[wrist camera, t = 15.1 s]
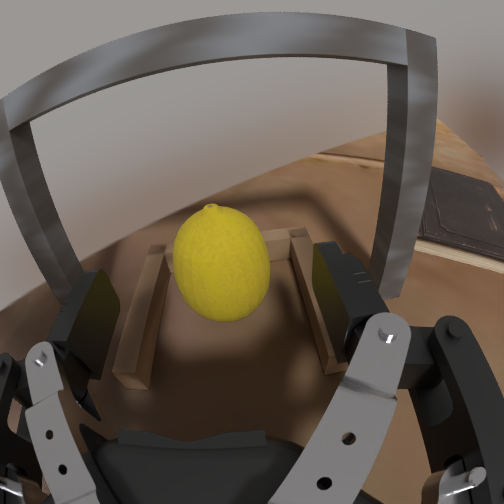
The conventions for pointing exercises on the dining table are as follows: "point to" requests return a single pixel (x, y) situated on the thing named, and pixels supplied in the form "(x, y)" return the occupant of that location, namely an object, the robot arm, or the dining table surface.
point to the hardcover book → (462, 220)
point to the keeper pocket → (277, 241)
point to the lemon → (221, 263)
